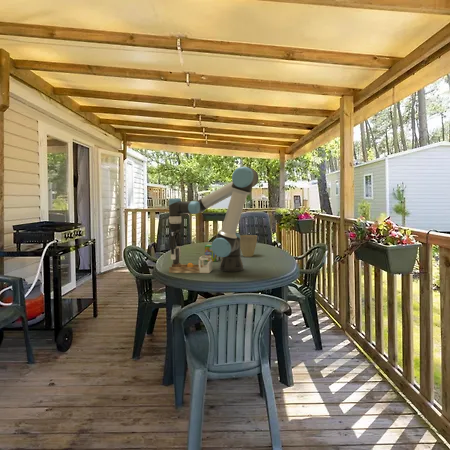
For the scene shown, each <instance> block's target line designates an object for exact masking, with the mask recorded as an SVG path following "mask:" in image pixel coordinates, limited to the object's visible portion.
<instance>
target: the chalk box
mask: <svg viewBox="0 0 450 450" xmlns="http://www.w3.org/2000/svg"><path fill="white" fill-rule="evenodd" d="M213 241H214V240H212V241H211V242H212V243H213ZM212 243H208V244H205V245H204V256H211V258H209V260H204V262H209V261H210V260H212V263H213V262H218V261H220V260H221V257H218V256H217V255H215V254H214V252H213V251H212ZM204 258H208V257H204Z"/></svg>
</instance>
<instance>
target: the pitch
mask: <svg viewBox="0 0 450 450" xmlns="http://www.w3.org/2000/svg"><path fill="white" fill-rule="evenodd" d="M187 264H188V263H187ZM187 264H186V263H181V267H172V266H169V267H168V268H169V269H168V273H169V274H170V273H171V274H201V273H200V268H199V264H193V267H187ZM201 267H203V265H202V264H201Z"/></svg>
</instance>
